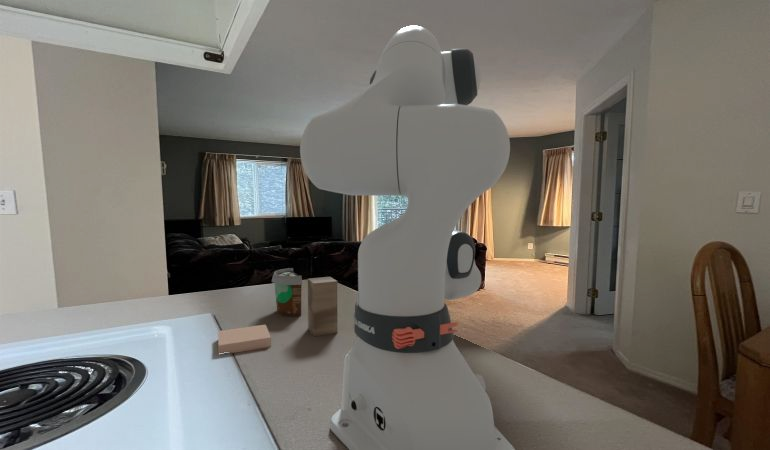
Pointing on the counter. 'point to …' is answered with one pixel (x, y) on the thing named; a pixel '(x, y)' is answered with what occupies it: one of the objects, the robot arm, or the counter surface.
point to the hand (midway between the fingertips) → (370, 291)
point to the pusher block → (322, 306)
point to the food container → (288, 292)
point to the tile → (243, 339)
